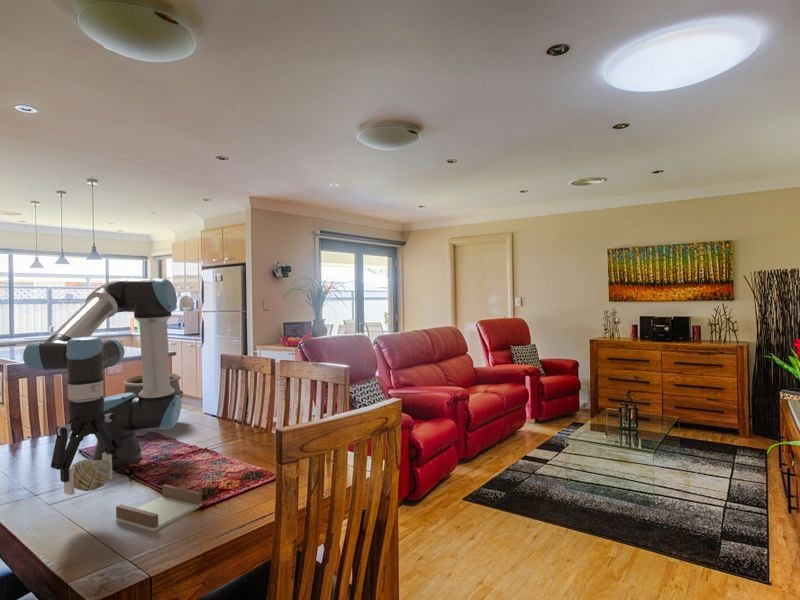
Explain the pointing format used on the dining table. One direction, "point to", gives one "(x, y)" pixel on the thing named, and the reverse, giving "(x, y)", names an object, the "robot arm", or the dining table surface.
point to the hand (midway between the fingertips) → (89, 485)
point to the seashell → (91, 474)
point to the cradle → (161, 508)
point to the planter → (136, 384)
